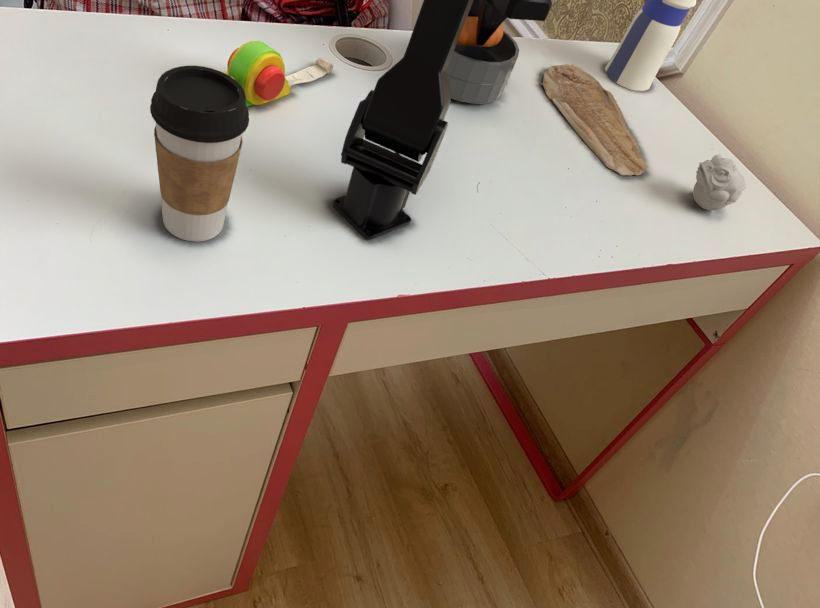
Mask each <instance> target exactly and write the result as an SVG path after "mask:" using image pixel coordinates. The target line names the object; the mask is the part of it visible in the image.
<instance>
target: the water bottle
mask: <svg viewBox="0 0 820 608" xmlns="http://www.w3.org/2000/svg"><path fill="white" fill-rule="evenodd" d="M641 1H642V7H640V8H639V10H638V11H637V12H636V13H635V15H634V16H633V18H632V20H631V21H630V24H629V25H628V28H627V29H626V31H625V33H624V34H623V37H622V39H620V41H619V44H618V45H617V46H616V47H617V48H616V49H615V50H614V53H613V54H612V55H611V58H610V59H609V60H608V62H607V64H606V66H605V68H604V72H605V74H606V76H607V77H608V78H609V79H610V80H611V81H613V82H614V83H615V84H617V85H619V86H621V87H623V88H626V89H628V90H631V91H635V92H646V91H648V90H649V89H650V88H651V86H652V84H653V82H654V80H655V78H656V76H657V75H658V72H659V70H660V69H661V67H662V65H663V63H664V61H665V59H666V57H667V56H668V54H669V52H670V50H671V49H672V47H673V45H674V43H675V41H676V40H677V38H678V36H679V34H680V31H681V27H682V23H683V21H684V20H685V18H686V16H687V15H688V13H689V12H690V9H691V8H694V7H695V6H696V5H697V0H641Z"/></svg>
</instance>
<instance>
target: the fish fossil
mask: <svg viewBox="0 0 820 608" xmlns="http://www.w3.org/2000/svg"><path fill="white" fill-rule="evenodd" d="M541 86H542V87H543V90H544V93H545V94H546V96H547V97H548V99H550V100H551V101H552V102H553V103H554V105H555V106H556V107H557V109H558V110H559V111H560V112H561V114H562V116H563V117H564V118H565V119H566V121H567V122H568V124H570V126H571V128H572V129H573V130H574V131H575V132H576V134H578V136H579V137H580V138H581V139H582V140H583V142H584V143H585V144H586V145H587V147H588V148H589V149H590V150H591V151H592V152H593V153H594V154H595V156H596V157H597V158H598V159H599V160H600V161H601V162H602V164H603V165H605V167H606V168H608V169H611V170H612V171H614V172H616V173H618V174H619V176H629V177H630V176H633V175H634V176H641V175H642V174H643V175H644V174H645V172H646V169H647V163H646V161H645V159H644V158H643V156H642V153H641V152H640V149H639V145H638V144H637V140H636V139H635V137H634V135H633V133H632V131H631V129H630V128H629V124H628V122H627V121H626V119H625V117H624V113H623V112H622V109H621V107H620V106H619V104H618V101H617V100H616V98H615V97H614V95H613V94H612V92H611V91H609V90H606V89H605V88H604V87H603V85H601V83H600V82H599V81H598V80H597V79H596V78H595V77H594V76H593V75H591V74H590V73H588V72H587V71H586V70H584V69H583V68H581V67H578V66H576V65H574V64H573V63H572V64H571V63H566V64H556V65H553V66H550V67H549V68H548V69H547V70H546V71H544V72H543V77H542V83H541Z"/></svg>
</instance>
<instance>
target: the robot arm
mask: <svg viewBox="0 0 820 608" xmlns="http://www.w3.org/2000/svg"><path fill="white" fill-rule="evenodd" d="M552 6H553V2H552V0H422V4H421V7H420V9H419V13H418V15H417V18H416V21H415V23H414V27H413V29H412V32H411V35H410V38H409V41H408V43H407V45H406V49H405V51H404V54H403V57H402V58H400V60H398V61H397V62H396V63H395V64H394V65H393V66H391V67H390V68H389V69H388V70H387V71H386V72H385V73H384V74H382V75H381V76H380V77H379V78H378V79H377V81H376V84H375V86H374V89H371V90H370V91H369V92H368V93H367V95H366V96H365V98H364V99H363V100H360V101H359V103H358V105H357V107H356V110H355V113H354V115H353V117H352V119H351V122H350V124H349V127H348V130H347V132H346V135H345V137H344V138H345V139H344V142H343V144H342V145H343V146H342V148H341V149H342V150H341V154H340V156H341V160H340V163H341V164H344V165H348V166H350V167H352V171H351V175H350V178H349V182H348V186H347V190H346V193H345V195H342V196H340V197H339V196H338V197H336V198H334V199H333V201H332V206H333V207H334V208H335V209H336V210H337V211H338V212H339V213H340V214H341V215H342V216H343V217H344V218H345V219H346V220H347V221H348V222H349V223H350V224H351V225H352V226H353V228H355V229H356V230H357V231H358V232H359V233H360V234H361V235H362V236H363V237H364V238H365V239H367V240H372V239H375V238H378V237H379V236H383V235H386V234H388V233H391V232H393V231H396V230H397V229H400V228H403V227H405V226H408V225H410V224H411V221H412V218H411V216H410V215H408V214H407V213H406V212H405V211H404V209H405V207H406V205H407V203H408V200H409V196H410V194H412V195H415V196H416V195H417V193H418V192H419V190H420V189H421V187H422V186H423V183H425V181H426V179H427V177H428V175H429V174H430V171H431V169H432V166H433V163H434V161H435V159H436V156H437V155H438V152H439V149H440V146H441V144H442V142H443V140H444V137H445V135H446V132H447V129H448V125H449V121H446V120H445V118H446V115H447V113H448V109H449V107H450V105H451V100H452V98H451V88H450V87H449V85H448V78H447V67H448V65H449V62H450V59H451V57H452V54H453V52H454V49H455V47H456V44H457V41H458V39H459V36H460V34H461V31H462V29H463V26H464V24H465V21H466V18H467V16H469V17H478V23H477V32H476V44H477V45H484V44H485V43H486V42H487V41H488V39H489V38H490V37H491V36H492V35H493V33H494V32H495V31H496V30H497V28H498V27H499V26H500V25H501V24H502V25H503V23H504V22H505V21H506V20H507V19H508V20H521V21H534V22H535V21H536V22H537V21H538V22H545V21H546V20H547V18H548V15H549V13H550V11H551V9H552ZM424 155H425V157H424V159H423V161H422V163H419V162H420V161H421V160H422V158H423V156H424Z"/></svg>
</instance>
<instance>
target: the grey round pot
mask: <svg viewBox="0 0 820 608" xmlns="http://www.w3.org/2000/svg"><path fill="white" fill-rule="evenodd" d="M519 55H520V48H519V45H518V43H517V42H516V40H515V39H514V37H512V35H510V34H509V33H508V32H507V31H505V30H504V29H503V36H502V38H501V40H500V42H499V43H498V44H496V45H495V46H492V47H478V46H459V45H456V47H455V49H454V52H453V54H452V57H451V59H450V62H449V65H448V67H447V78H448V85H449V87H450V88H451V100H455V101H458V102H462V103H468V104H473V105H480V104H482V105H485V104H489V103H493V102H496V101H497V100H499V98H501V97H502V96H503V94H504V92H505V90H506V87H507V84H508V81H509V79H510V77H511V74H512V73H513V70H514V69H515V68H514V67H515V65H516V64H517V63H516V62H517V60H518V58H519Z"/></svg>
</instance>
